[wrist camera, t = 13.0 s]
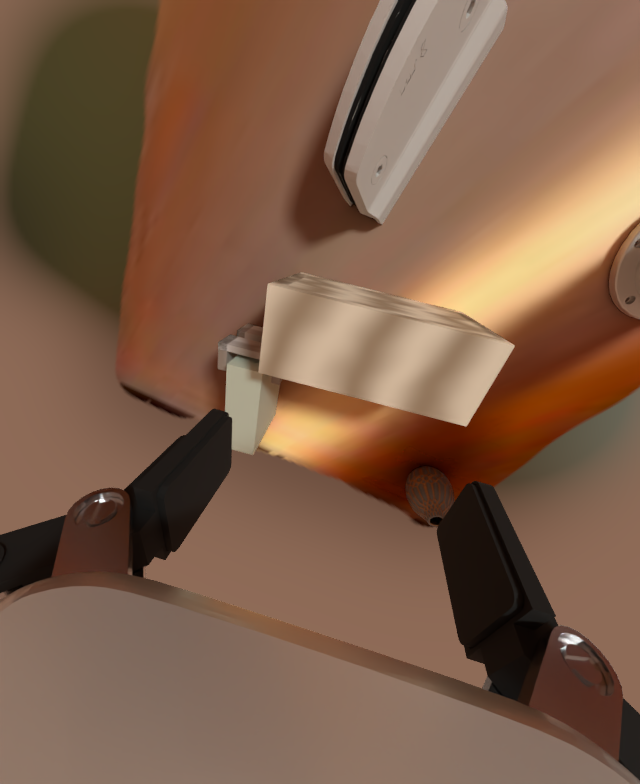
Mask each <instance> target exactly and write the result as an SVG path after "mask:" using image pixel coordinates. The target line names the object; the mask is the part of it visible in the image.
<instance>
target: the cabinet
mask: <svg viewBox="0 0 640 784" xmlns="http://www.w3.org/2000/svg"><path fill="white" fill-rule="evenodd" d="M514 347H515V345H513V344H512V343H510V342H509V341H507V340H505V339H504V338H502V337H501V336H499V335H497V334H496V333H494V332H493V331H491V330H489V329H488V328H486V327H485V326H483V325H481V324H480V323H478V322H477V321H475V320H473V319H472V318H470V317H469V316H467V315H465V314H464V313H462V312H459V311H455V310H451V309H447V308H443V307H439V306H435V305H431V304H427V303H423V302H419V301H415V300H411V299H407V298H403V297H399V296H395V295H391V294H387V293H383V292H379V291H374V290H370V289H366V288H362V287H358V286H354V285H350V284H346V283H342V282H338V281H334V280H330V279H326V278H322V277H318V276H314V275H310V274H306V273H302V272H301V273H298V274H295V275H292V276H289V277H286V278H284V279H281V280H278V281H275V282H272V283H269V284H268V287H267V296H266V305H265V315H264V324H263V327H259V326H255V325H251V324H246V325H245V326H243V327H242V328H240V329H238V330H237V336H234V335H229V336H227V337H226V338H224V339H223V340H221V341H219V342H218V369H220V370H224V371H227V363H229V362H230V361H231V360H232V359H233V358H235V357H236V356H237V355H238V354H240V355H244V356H248V357H251V358H255V359H259V360H260V362H259V371H258V373H262V374H266V375H269V376H272V378H271V383H274V384H278V385H280V383H281V381H282V380H283V379H285V380H289V381H293V382H296V383H300V384H304V385H308V386H312V387H316V388H320V389H323V390H327V391H331V392H335V393H339V394H343V395H346V396H350V397H354V398H358V399H362V400H366V401H370V402H373V403H377V404H381V405H385V406H389V407H393V408H397V409H400V410H404V411H408V412H412V413H416V414H420V415H424V416H427V417H431V418H435V419H439V420H443V421H447V422H451V423H454V424H458V425H462V426H466V427H467V425H468V423H469V422H470V420H471V418H472V417H473V415H474V413H475V412H476V410H477V408H478V407H479V405H480V403H481V402H482V400H483V398H484V397H485V395H486V393H487V392H488V390H489V388H490V387H491V385H492V383H493V382H494V380H495V378H496V377H497V375H498V374H499V372H500V370H501V369H502V367H503V365H504V364H505V362H506V360H507V359H508V357H509V355H510V354H511V352H512V350H513V349H514Z"/></svg>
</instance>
